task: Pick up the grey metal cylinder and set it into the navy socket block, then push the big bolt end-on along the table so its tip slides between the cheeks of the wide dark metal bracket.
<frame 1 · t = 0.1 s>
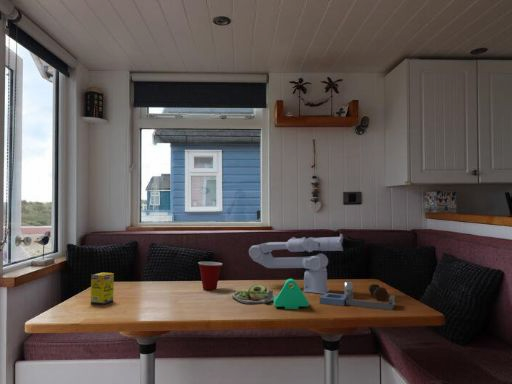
hand: (363, 242, 159), 22 cm above the table, tool horizontal, fingers open, 7 cm apart
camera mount: (290, 307, 142), on the table
bolt: (377, 297, 157), on the table
socket: (334, 302, 148), on the table
supplement box: (102, 303, 147), on the table
mount bracket: (370, 304, 144), on the table
plastic cup: (210, 289, 171), on the table
salad plate: (255, 299, 154), on the table
grey metal cylinder: (348, 297, 156), on the table
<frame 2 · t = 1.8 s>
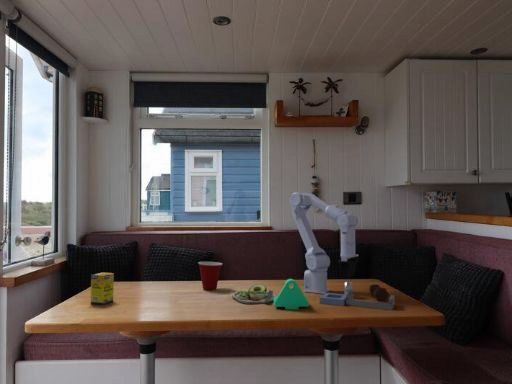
hand: (348, 277, 156), 8 cm above the table, tool pointing down, fingers open, 7 cm apart
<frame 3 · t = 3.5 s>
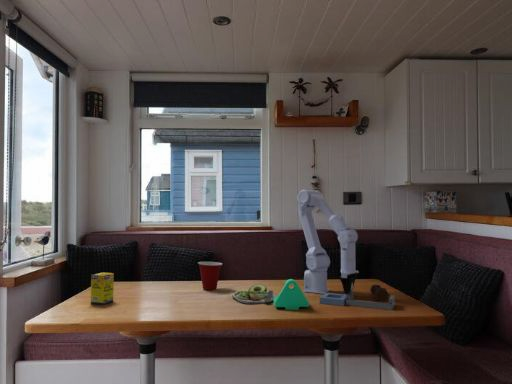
hand: (348, 293, 156), 2 cm above the table, tool pointing down, fingers closed on grey metal cylinder, 3 cm apart
grey metal cylinder: (348, 297, 156), on the table, touching gripper
everything else where it was.
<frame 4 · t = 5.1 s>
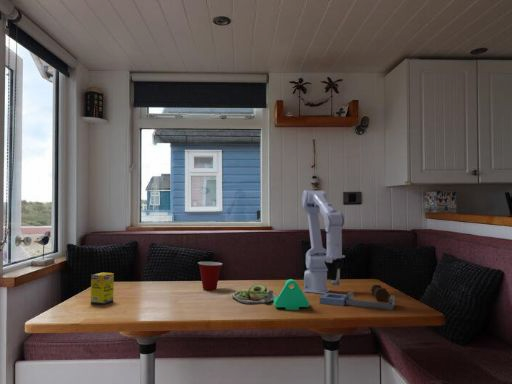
hand: (334, 279, 148), 9 cm above the table, tool pointing down, fingers closed on grey metal cylinder, 3 cm apart
grey metal cylinder: (335, 284, 148), point 7 cm above the table, touching gripper
when the fingers open (3 cm above the table, at t = 6.8 s): grey metal cylinder drops 1 cm, resting in socket.
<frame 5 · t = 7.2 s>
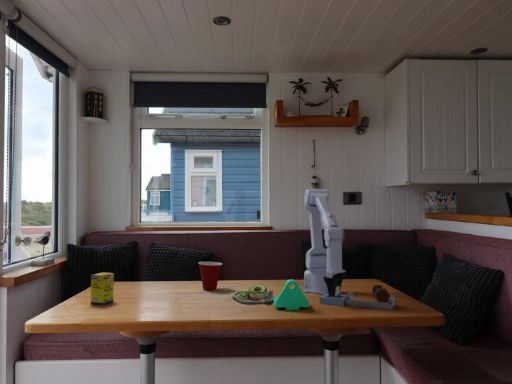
hand: (334, 293, 148), 3 cm above the table, tool pointing down, fingers open, 7 cm apart
grey metal cylinder: (335, 302, 148), resting in socket
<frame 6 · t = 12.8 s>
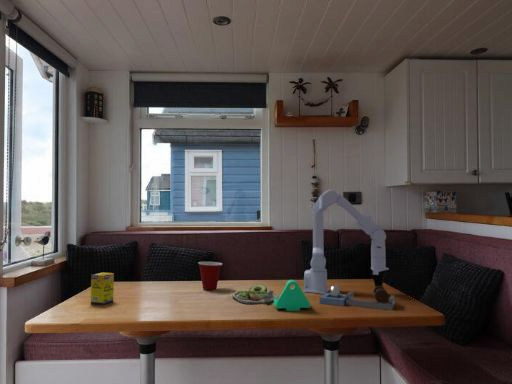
hand: (378, 289, 162), 2 cm above the table, tool pointing down, fingers closed
bolt: (380, 299, 153), on the table, touching gripper
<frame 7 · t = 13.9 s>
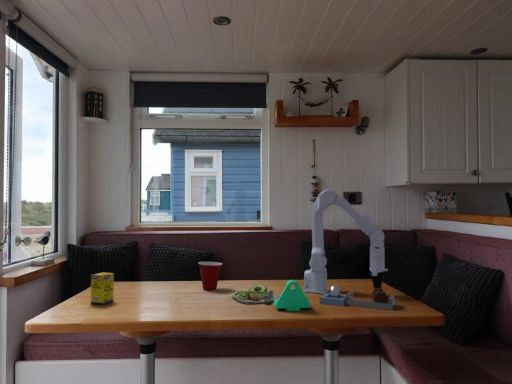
hand: (377, 291, 159), 2 cm above the table, tool pointing down, fingers closed
bolt: (379, 301, 150), on the table
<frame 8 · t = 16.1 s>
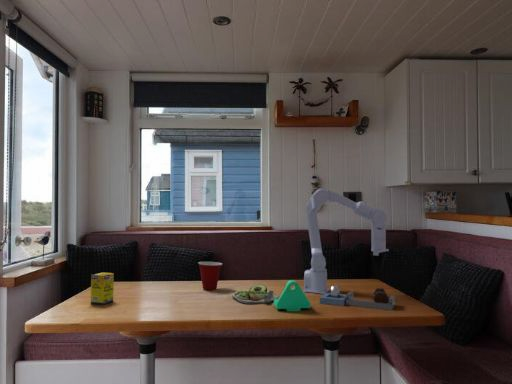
hand: (378, 270, 163), 9 cm above the table, tool pointing down, fingers closed
at the end: bolt inside the target area on the table beside the mount bracket (2.6 cm from its centre), on the table; grey metal cylinder 0.3 cm from the socket (horizontally); grey metal cylinder tilted 0° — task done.
